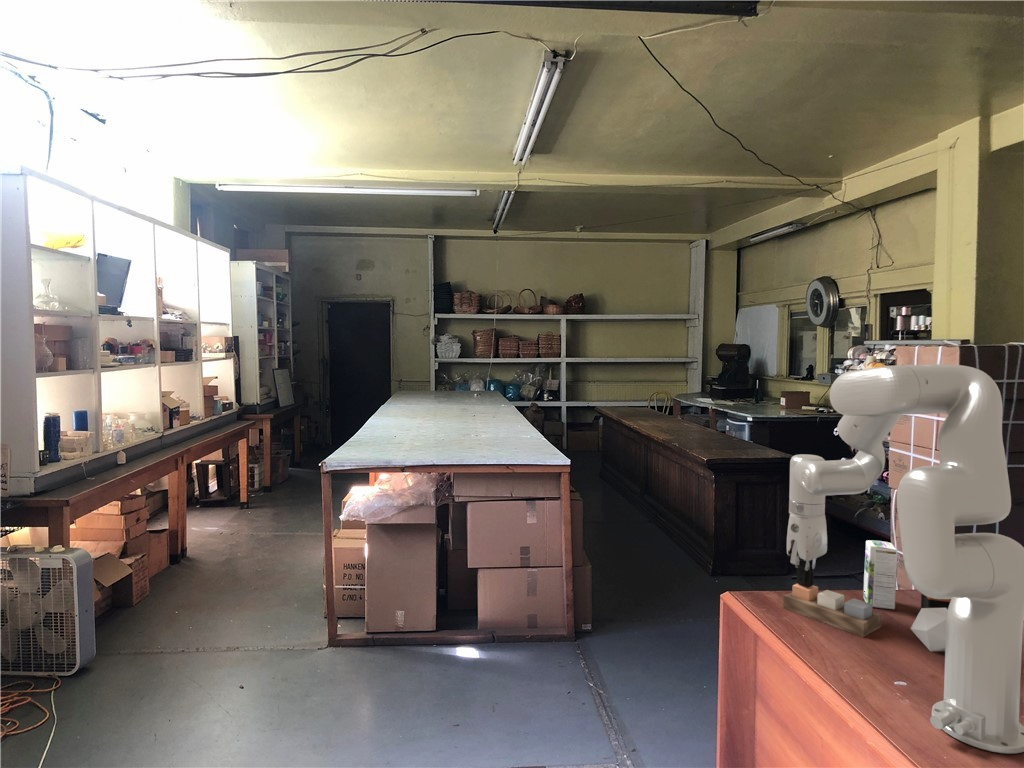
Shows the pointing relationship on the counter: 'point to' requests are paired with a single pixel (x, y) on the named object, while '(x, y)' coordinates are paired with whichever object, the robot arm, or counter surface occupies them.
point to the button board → (832, 616)
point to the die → (931, 628)
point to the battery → (934, 602)
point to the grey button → (858, 609)
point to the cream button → (830, 599)
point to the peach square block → (805, 592)
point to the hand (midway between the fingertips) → (804, 584)
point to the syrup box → (880, 574)
